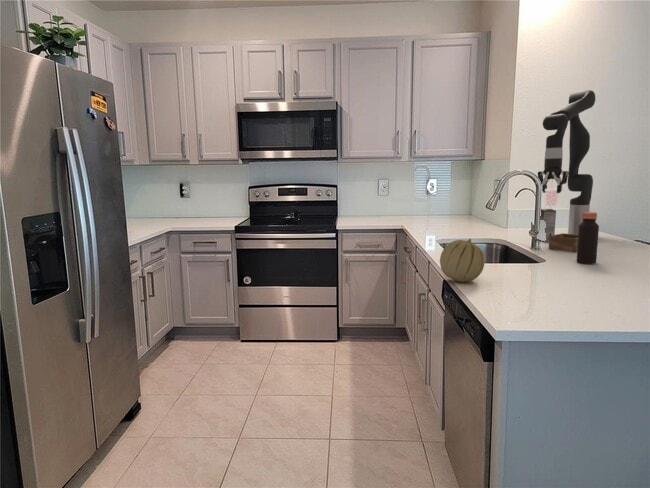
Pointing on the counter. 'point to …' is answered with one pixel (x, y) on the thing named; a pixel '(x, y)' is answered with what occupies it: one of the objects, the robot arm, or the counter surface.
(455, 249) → the cantaloupe
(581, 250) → the bottle
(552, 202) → the beverage cup
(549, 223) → the coffee box
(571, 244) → the wooden square frame
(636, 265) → the counter surface
